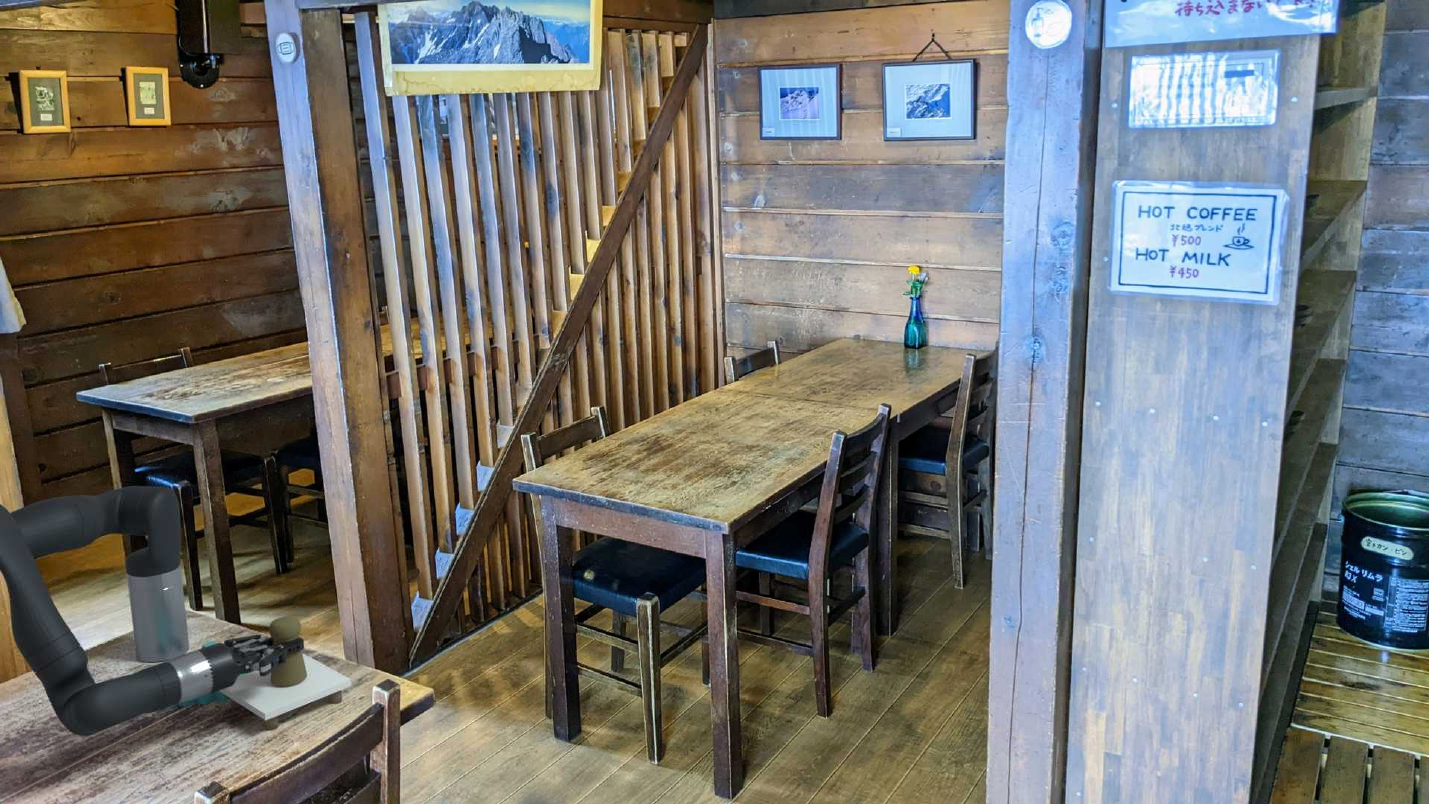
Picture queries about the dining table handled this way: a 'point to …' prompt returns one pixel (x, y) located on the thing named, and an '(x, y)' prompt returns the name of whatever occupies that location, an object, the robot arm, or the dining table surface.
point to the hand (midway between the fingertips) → (296, 640)
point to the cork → (294, 665)
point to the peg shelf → (285, 691)
